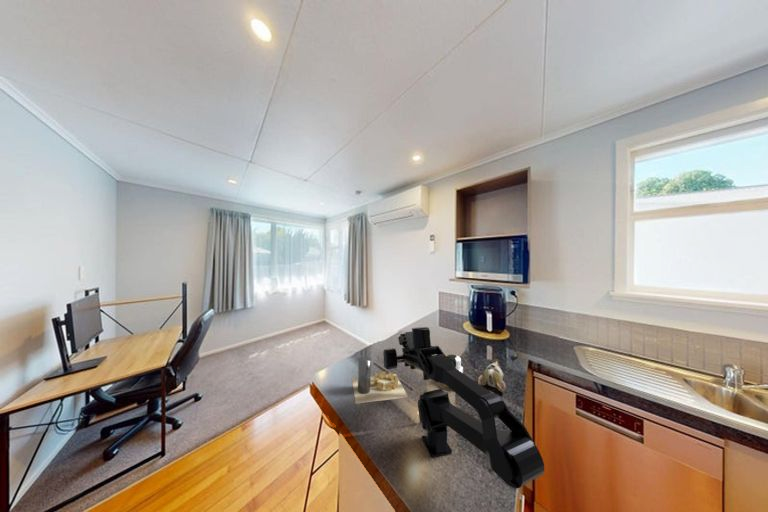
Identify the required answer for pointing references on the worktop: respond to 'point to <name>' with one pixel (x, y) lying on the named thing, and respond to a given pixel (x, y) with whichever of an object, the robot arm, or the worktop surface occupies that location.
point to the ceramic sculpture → (493, 377)
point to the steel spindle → (364, 375)
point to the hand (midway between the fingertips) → (398, 352)
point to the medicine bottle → (455, 363)
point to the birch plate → (378, 391)
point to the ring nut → (387, 385)
